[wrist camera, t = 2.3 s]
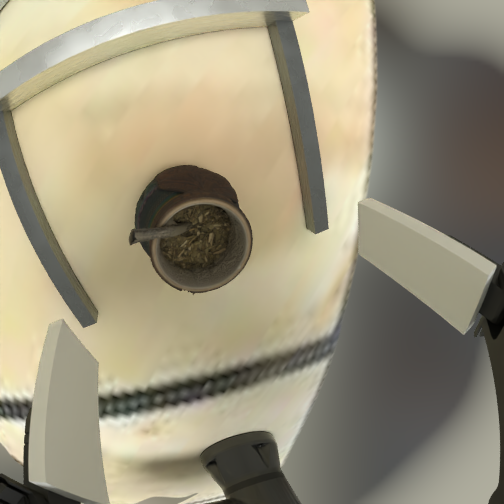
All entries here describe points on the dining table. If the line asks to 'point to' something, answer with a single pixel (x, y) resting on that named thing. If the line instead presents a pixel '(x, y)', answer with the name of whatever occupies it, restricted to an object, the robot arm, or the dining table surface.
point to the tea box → (2, 3)
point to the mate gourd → (192, 229)
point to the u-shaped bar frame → (135, 37)
